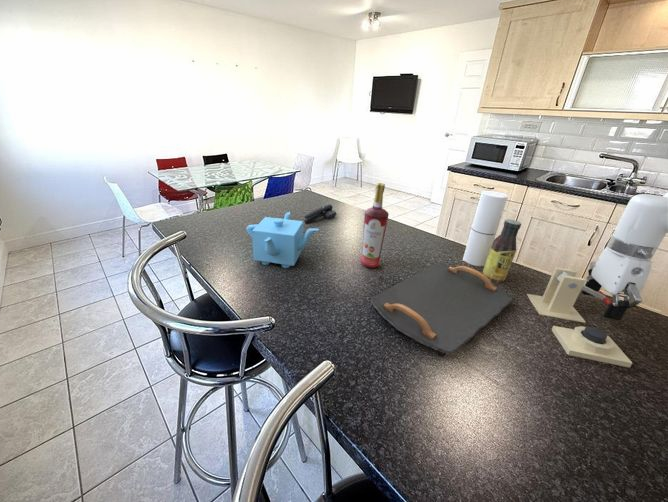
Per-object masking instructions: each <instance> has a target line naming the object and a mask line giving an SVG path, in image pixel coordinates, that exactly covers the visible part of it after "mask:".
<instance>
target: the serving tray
mask: <svg viewBox="0 0 668 502" xmlns="http://www.w3.org/2000/svg"><path fill="white" fill-rule="evenodd" d="M513 301H514V298H513V297H512V296H511V295H510V294H509V293H507V292H505V291H504V290H503V289H502V288H500V287H498V286H497V285H496V284H494V283H493V282H491V281H490V280H489V278H488V277H487V276H485V275H484V274H483V272H482V271H478V270H477V269H474V268H472V267H470V266H466V265H458V266H451V265H447V264H443V263H435V264H432V265H430V266H428V267H427V268H425V269H423V270H421V271H419V272H418V273H415V274H413V275H411V276H409V277H408V278H406V279H404V280H402V281H400V282H398V283H396V284H394V285H393V286H391V287H389V288H387V289H385V290H383V291H381V292H380V293H378V294H376V295H374V296H373V297H371V299H370V302H371V304H372V306H373V309H374V311H375V312H376V313H378V314H379V315H380V316H381V317H382V318H383V319H384V320H385V321H387V322H388V323H389V324H390V325H391V326H392V327H393V328H394V329H396V330H397V331H399V332H400V333H402V334H403V335H405V336H406V337H409V338H410V339H412V340H414V341H416V342H417V343H419V344H421V345H423V346H425V347H428V348H430V349H432V350H435V351H436V353H437V356H438V357H440V358H444V357H446V356H447V355H453V354H455V353H456V352H458V351H459V350H460V349H461V348H462V347H463V346H464V345H466V344H467V343H468V342H469V341H470V340H471V339H472V338H475V336H476V335H477V333H479V331H480V330H482V329H484V328H485V327H487V326H488V325H489V324H490V322H491V321H493V320H494V318H497V317H498V316H500V315H501V314H502V311H503V310H506V309H505V308H507V307H508V306H509V305H510V304H511V303H513Z"/></svg>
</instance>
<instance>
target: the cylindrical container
mask: <svg viewBox="0 0 668 502" xmlns="http://www.w3.org/2000/svg"><path fill="white" fill-rule="evenodd" d="M508 197H509V195H508V194H506V193H504V192H500V191H496V190H482V191H481V193H480V196H479V200H478V203H477V207H476V210H475V213H474V218H473V221H472V225H471V229H470V232H469V235H468V239H467V242H466V246H465V250H464V252H463V253H464V254H463V257H462V261H464V262H465V263H467V264H469V265H471V266H475V267H484V266H485V263H486V260H487V258H488V255H489V252H490V249H491V247H492V245H493V242H494V240H495V238H496V235H497V233H498V229H499V226H500V224H501V223H500V222H501V219H502V216H503V213H504V211H505V207H506V204H507V201H508Z"/></svg>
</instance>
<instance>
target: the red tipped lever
mask: <svg viewBox="0 0 668 502" xmlns="http://www.w3.org/2000/svg"><path fill="white" fill-rule="evenodd" d="M563 275H564V276H571V277H574V276H572V275H570V274H568V273H566V272H563V273H562V274H560V275H559V276H558V277H557V279H558V280H559V281H560V280H561V278H562V276H563ZM582 290H583V291H585V292H587V293H589V294H591V295H593V296H592V297H595V298H597V299H600V300H601V301H602V302H604V303H605V305H606V306H607V307H608V306H609V304H610V303H612V304H613V300H612V299H610V298H609V297H607V295H606V294H604V292H602V291H601V290H599V291H597V292H596V291H594V290H592V289H590V288H588V287H586V286H585V284H584V285H583V287H582V289H581V291H582Z"/></svg>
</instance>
